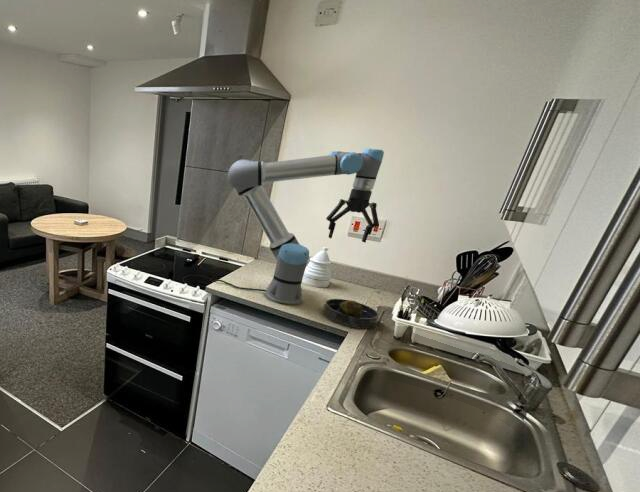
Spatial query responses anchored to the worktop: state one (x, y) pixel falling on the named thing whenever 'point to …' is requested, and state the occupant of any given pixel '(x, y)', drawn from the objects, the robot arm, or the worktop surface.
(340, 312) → the pan
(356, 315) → the potato
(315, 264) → the honey pot
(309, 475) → the worktop surface
